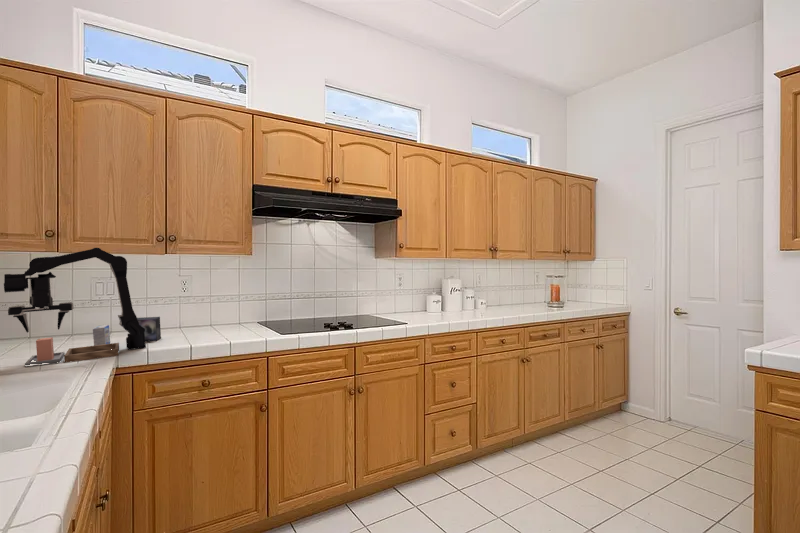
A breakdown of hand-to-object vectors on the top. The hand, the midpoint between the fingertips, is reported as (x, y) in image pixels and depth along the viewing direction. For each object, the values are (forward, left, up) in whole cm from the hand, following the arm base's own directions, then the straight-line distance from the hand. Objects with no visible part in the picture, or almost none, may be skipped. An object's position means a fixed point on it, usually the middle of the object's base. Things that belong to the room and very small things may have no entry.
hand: (43, 330), depth 165 cm
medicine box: (-17, -19, -12) cm, 28 cm away
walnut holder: (-15, 0, -12) cm, 19 cm away
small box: (-34, -19, -12) cm, 41 cm away
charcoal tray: (0, 0, -12) cm, 12 cm away
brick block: (0, 0, -11) cm, 11 cm away
